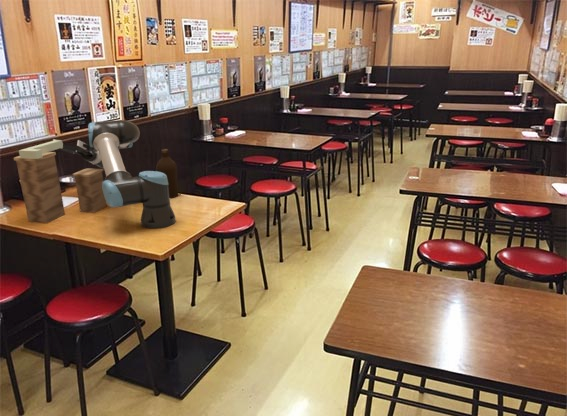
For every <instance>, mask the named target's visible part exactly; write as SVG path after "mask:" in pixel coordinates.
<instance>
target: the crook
mask: <svg viewBox="0 0 567 416" xmlns="http://www.w3.org/2000/svg"><path fill="white" fill-rule="evenodd" d="M62 143H63V139H62V140H61V139H55V140H54V141H53V140H51V141H48V142H44V143H40V144H38V145H37V144H36V145H34V146H29V147H26V148H23V149H20V150H18V154H19V156H20V158H26V159H39V158H42V157H43V156H42V154H43V153H47V152H54V151H55V150H59V148H63V144H64V143H63V144H62Z"/></svg>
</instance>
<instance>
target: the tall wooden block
mask: <svg viewBox="0 0 567 416" xmlns="http://www.w3.org/2000/svg"><path fill="white" fill-rule="evenodd" d="M56 155H57V153H56V151H50V152H47V153H43V154H42V156H43V157H42V158H39V159H26V158H20V155H18V156H15V157H13V161H15V162H16V166H17V170H18V171H17V172H18V178H19V181H20V187H21V191H22V196H23V200H24V205H25V210H26V214H27V219H28V222H29V223H37V224H38V223H42V224H49V223H51V222H53V221H55V220H57V219H58V218H60V217H62V216H65V215H66V214H65V213H66V212H65V207H64V201H63V196H62V190H61V185H60V184H61V183H60V179H59V175H58V174H59V173H58V168H57V162H56V157H55V156H56Z"/></svg>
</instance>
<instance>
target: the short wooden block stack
mask: <svg viewBox="0 0 567 416" xmlns="http://www.w3.org/2000/svg"><path fill="white" fill-rule="evenodd" d="M103 172H104V168H90V167H89V168H87V167H86V168H83V169H81V170H78V171H77V172H74V173H72V176H73V177H74V181H75V187H76V188H75V189H76V194H77V200H78V204H79V211H80V212H81V213H98V212H99V211H101V210H103V209H104V208H106V207H108V204H107V202H106V200H105V197H104V194H103V190H102V182H103V181H104V177H103Z"/></svg>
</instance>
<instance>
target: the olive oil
mask: <svg viewBox="0 0 567 416" xmlns="http://www.w3.org/2000/svg"><path fill="white" fill-rule="evenodd" d="M155 171H157V172H162V173H164V174H165V175H166V176H167V180H168V189H169V199H175V198H176V197H178V196H179V188H178V187H179V186H178V167H177V164H176V162H175V161H174V160H173V159H172V158H171V157H170V156H169V149H168V148H163V149H161V158H160V159H159V160H158V162H157V163H156V167H155Z"/></svg>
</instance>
